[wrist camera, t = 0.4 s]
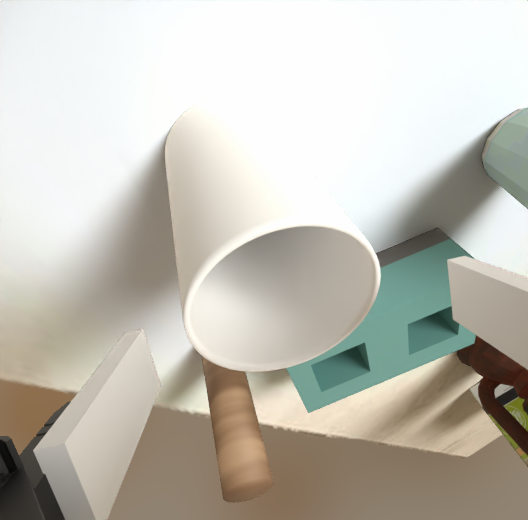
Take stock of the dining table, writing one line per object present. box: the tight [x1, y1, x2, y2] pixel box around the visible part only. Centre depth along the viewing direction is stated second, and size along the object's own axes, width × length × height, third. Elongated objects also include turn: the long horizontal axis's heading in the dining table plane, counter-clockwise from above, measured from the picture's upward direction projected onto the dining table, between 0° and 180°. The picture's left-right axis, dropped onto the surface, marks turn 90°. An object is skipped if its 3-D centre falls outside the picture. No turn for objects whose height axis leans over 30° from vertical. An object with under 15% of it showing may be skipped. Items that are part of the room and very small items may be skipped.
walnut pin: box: [202, 356, 274, 502], centre depth 33 cm, size 4×4×15 cm
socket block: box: [286, 228, 476, 413], centre depth 38 cm, size 12×20×7 cm, turn 108°
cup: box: [165, 99, 381, 372], centre depth 20 cm, size 8×8×16 cm
